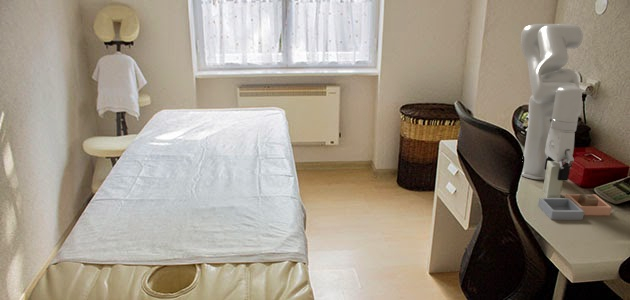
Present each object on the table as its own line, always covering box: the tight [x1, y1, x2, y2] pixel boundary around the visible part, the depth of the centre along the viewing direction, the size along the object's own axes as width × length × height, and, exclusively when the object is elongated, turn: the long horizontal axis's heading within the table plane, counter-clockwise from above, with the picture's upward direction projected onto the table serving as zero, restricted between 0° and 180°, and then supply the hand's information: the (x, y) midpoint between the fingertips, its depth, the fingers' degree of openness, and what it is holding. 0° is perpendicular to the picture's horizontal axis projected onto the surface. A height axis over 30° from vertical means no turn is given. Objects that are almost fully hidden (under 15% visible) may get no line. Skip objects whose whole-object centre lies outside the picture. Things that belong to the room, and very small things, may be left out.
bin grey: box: [537, 197, 585, 221], centre depth 156 cm, size 10×10×4 cm
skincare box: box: [542, 161, 564, 198], centre depth 167 cm, size 6×4×12 cm
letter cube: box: [578, 193, 598, 206], centre depth 159 cm, size 4×4×4 cm
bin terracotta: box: [565, 193, 612, 216], centre depth 159 cm, size 10×10×4 cm
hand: (555, 174), depth 166 cm, fingers open, 9 cm apart
